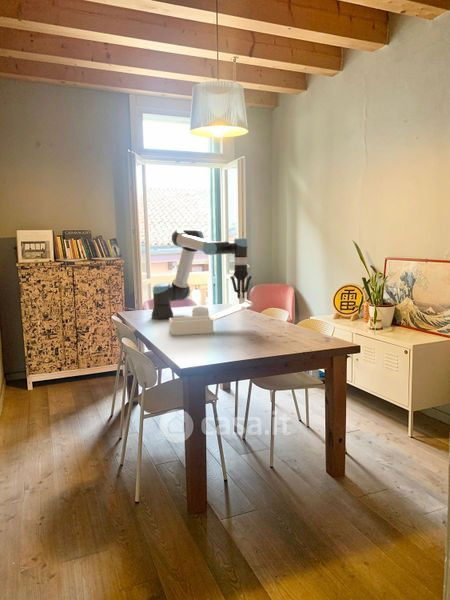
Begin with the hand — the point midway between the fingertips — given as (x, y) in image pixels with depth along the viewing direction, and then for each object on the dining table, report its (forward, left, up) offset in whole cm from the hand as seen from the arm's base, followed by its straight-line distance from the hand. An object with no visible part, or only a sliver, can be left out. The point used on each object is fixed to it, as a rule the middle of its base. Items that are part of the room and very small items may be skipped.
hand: (240, 303), depth 266 cm
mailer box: (0, -30, -16) cm, 34 cm away
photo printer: (-15, -22, -16) cm, 31 cm away
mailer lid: (0, -7, -2) cm, 7 cm away
